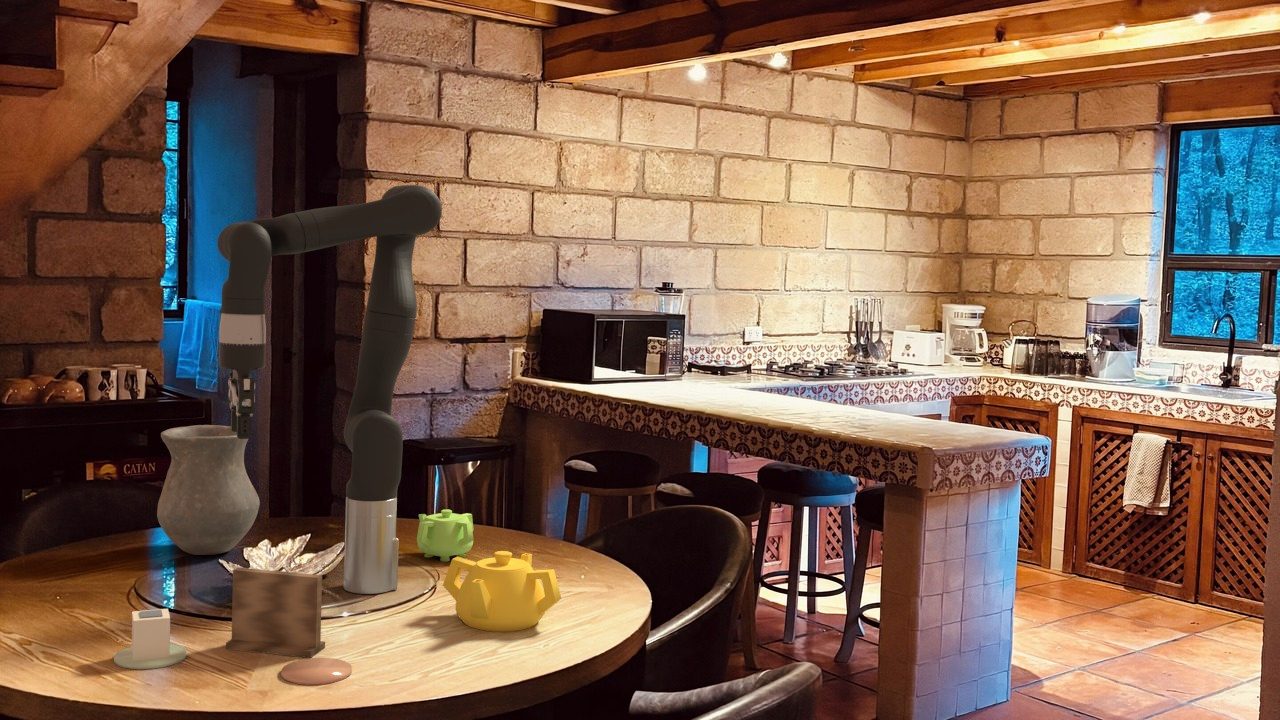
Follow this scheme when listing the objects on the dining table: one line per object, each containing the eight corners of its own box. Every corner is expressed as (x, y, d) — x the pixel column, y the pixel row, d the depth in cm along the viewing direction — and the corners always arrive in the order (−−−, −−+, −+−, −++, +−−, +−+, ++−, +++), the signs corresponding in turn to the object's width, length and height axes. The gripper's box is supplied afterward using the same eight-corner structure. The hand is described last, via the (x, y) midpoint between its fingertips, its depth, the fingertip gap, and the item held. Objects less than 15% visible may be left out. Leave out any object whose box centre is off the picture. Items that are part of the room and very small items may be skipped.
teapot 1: (472, 549, 252) (474, 504, 252) (474, 563, 241) (475, 516, 240) (416, 549, 250) (418, 504, 250) (415, 563, 239) (417, 515, 238)
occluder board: (225, 648, 182) (227, 572, 181) (242, 639, 187) (243, 564, 186) (310, 657, 180) (312, 580, 179) (325, 647, 184) (326, 572, 184)
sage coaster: (183, 644, 183) (183, 640, 183) (188, 665, 174) (188, 661, 174) (113, 650, 179) (113, 647, 179) (114, 672, 170) (114, 668, 170)
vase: (237, 565, 231) (240, 439, 229) (141, 561, 231) (142, 434, 229) (270, 542, 251) (273, 426, 249) (181, 538, 251) (183, 422, 249)
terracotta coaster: (344, 658, 180) (344, 654, 180) (358, 680, 171) (358, 676, 171) (276, 665, 176) (276, 661, 175) (287, 688, 167) (287, 683, 166)
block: (167, 647, 180) (167, 607, 179) (169, 657, 175) (170, 616, 175) (131, 650, 178) (132, 610, 177) (133, 660, 173) (133, 619, 173)
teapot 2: (563, 630, 199) (566, 560, 198) (469, 640, 192) (471, 567, 191) (528, 603, 214) (530, 538, 213) (439, 611, 207) (441, 544, 206)
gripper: (271, 343, 195) (269, 440, 196) (260, 338, 208) (258, 428, 209) (223, 343, 192) (222, 441, 193) (215, 337, 205) (213, 429, 206)
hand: (240, 435), depth 201 cm, fingers open, 8 cm apart
